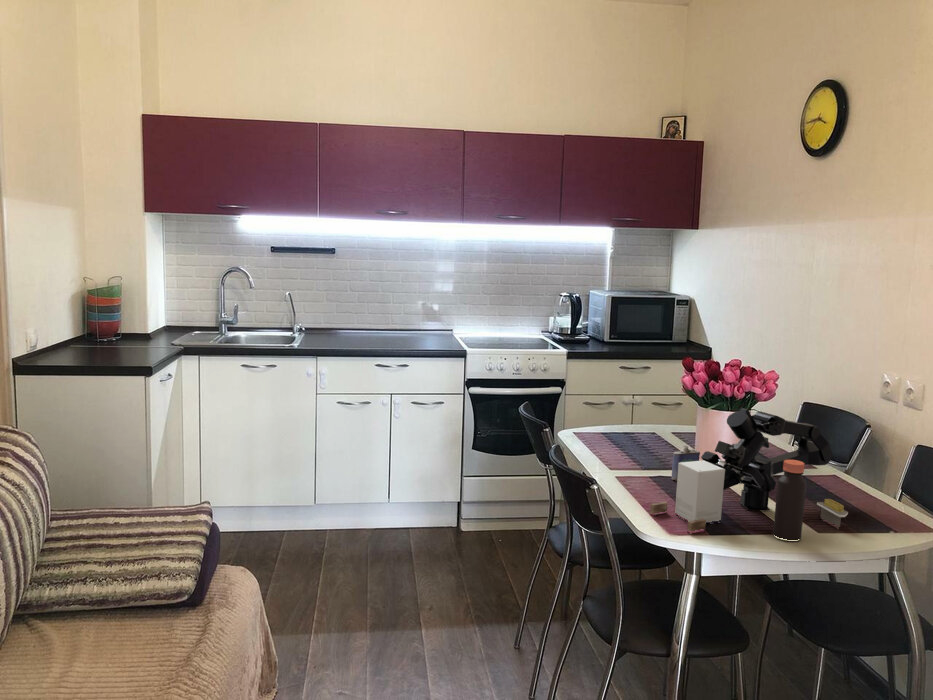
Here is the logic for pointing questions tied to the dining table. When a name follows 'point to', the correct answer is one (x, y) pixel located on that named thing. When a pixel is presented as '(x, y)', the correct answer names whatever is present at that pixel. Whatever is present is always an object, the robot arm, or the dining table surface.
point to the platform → (832, 511)
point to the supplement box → (699, 491)
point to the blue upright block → (683, 459)
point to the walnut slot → (691, 524)
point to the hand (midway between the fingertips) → (714, 492)
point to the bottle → (790, 501)
